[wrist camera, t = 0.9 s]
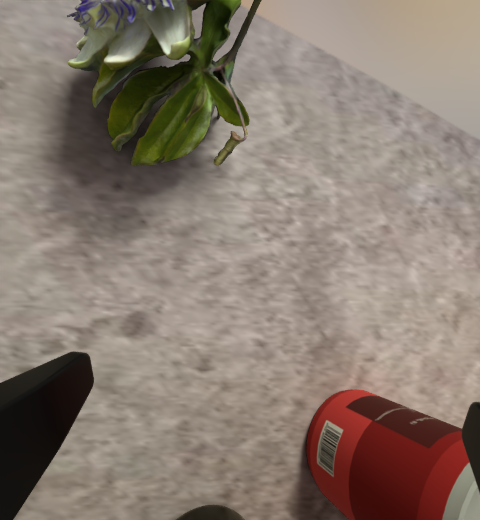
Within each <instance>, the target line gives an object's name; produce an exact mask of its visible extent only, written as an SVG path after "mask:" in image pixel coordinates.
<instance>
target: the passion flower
mask: <svg viewBox="0 0 480 520" xmlns="http://www.w3.org/2000/svg"><path fill="white" fill-rule="evenodd" d="M81 1H82V3H81V4H80V5H79V6H77V7H76V8H75V9H76V10H77V12H75V13H72V14H70V15H67V17H70V16H72V17H74V16H76V17H75V18H74V20H75V21H78V22H80V24H79V25H80V27H82V28H83V29H84V30H85V33H84V35H85V36H84V37H83V38H81V40H80V41H79V42H77V44H76V47H77V48H78V49H79V50H80V53H79V54H78V56H77V57H76V58H74V59H72V60H69V62H68V65H69V66H71V67H73V68H75V69H81V70H85V71H92V70H96V71H98V72H99V76H98V79H97V83H96V84H95V86H94V88H93V90H92V93H93V95H92V102H93V106H94V107H95V108H96V107H97V106H98V104H99V103H100V101H101V100H102V99H103V97H104V96H105V95H106V94H107V93H108V92H109V91H111V90H113V89H114V88H115V87H116V85H117V84H118V83H119V82H120V81H121V80H122V79H124V78H126V77H128V75H129V74H130V73H131V72H132V70H134V69H136V68H137V67H139V66H141V65H142V64H144V63H146V62H147V61H149V60H151V59H153V58H155V57H158V56H162V55H167V57H168V58H169V59H173V60H179V59H181V58H182V57H183V56H184V55H186V54H188V55H190V56H191V58H190V60H189V61H187V62H180V63H178V64H177V65H175V66H173V67H169V68H167V67H166V66H164V67H162V66H160V67H155V68H150V69H145V70H140V71H138V72H137V73H136V74H134V75H132V76H130V77H129V78H128V79H126V80H125V81H124V83H123V88H122V90H121V91H120V92H119V93H118V94H117V96H116V98H115V99H114V101H113V102H112V105H111V109H110V112H109V115H110V116H109V118H108V119H107V125H108V133H109V135H110V136H111V137H112V139H113V141H112V142H111V143H112V146H113V148H114V149H115V150H117V151H120V150H121V149H122V144H124V143H126V142H127V141H129V140H130V139H131V138H132V137H133V136H134V135H135V134H136V133H137V131H138V129H139V126H140V124H141V123H142V122H143V121H144V119H145V118H146V116H147V115H148V114H149V112H150V110H151V108H152V106H153V104H154V103H155V102H157V101H158V100H159V99H161V98H162V97H164V96H166V95H168V94H169V96H168V97H167V98H166V100H165V102H164V103H163V104H162V105H161V106H160V109H159V110H158V111H157V112H156V113H155V115H154V118H153V119H152V121H151V123H150V125H149V126H148V128H147V131H146V134H145V135H144V136H143V137H141V138H139V140H138V142H137V144H136V148H135V151H134V152H133V157H132V160H131V165H133V166H135V165H154V164H160V163H163V162H167V161H170V160H174V159H177V158H180V157H183V156H185V155H188V154H189V153H190V152H191V151H192V150H194V149H195V148H196V147H197V146H198V145H199V144H200V142H201V141H202V140H203V139H204V138H205V136H206V133H207V130H208V128H209V125H210V120H211V117H212V114H213V111H214V107H215V106H216V107H217V111H218V115H217V118H218V119H219V118H220V116H221V117H223V118H224V120H225V121H226V122H228V123H231V124H233V125H235V126H243V129H244V138H241V137H240V136H238V135H237V134H236V133H235V132H234V131H231V137H230V139H229V140H228V141H227V143H226V144H225V147H224V148H223V149H222V150H221V151H220V152H219V153H218V156H217V157H215V159H214V164H215V165H221V164H222V163H223V161H224V160H225V159H226V158H227V156H228V155H230V154H231V153H232V151H233V149H234V148H235V147H236V145H238V144H239V143H241V142H243V141H244V140H245V139H246V137H247V130H246V127H245V126H247V125H249V116H248V114H247V112H246V109H245V107H244V106H243V104H242V102H241V101H240V100H239V99H238V98H237V96H236V94H235V92H234V90H233V88H232V87H231V84H230V81H231V77H232V73H233V68H234V64H235V58H236V54H237V52H238V49H239V47H240V46H241V43H242V41H243V39H244V37H245V35H246V33H247V31H248V28H249V26H250V23H251V21H252V19H253V17H254V15H255V12H256V10H257V8H258V6H259V4H260V2H261V0H254V2H253V4H252V6H251V8H250V11H249V12H248V15H247V17H246V19H245V21H244V23H243V25H242V27H241V30H240V32H239V34H238V36H237V38H236V40H235V43H234V45H233V47H232V48H231V50H230V51H229V52H228V53H227V54H225V55H224V56H223V57H222V58H220V59H219V60H218V61H217V62H215V61H213V60H212V59H213V57H214V55H215V53H216V52H217V50H218V49H220V48H221V47H222V45H223V44H224V43H225V42H226V41H227V39H228V37H229V35H230V31H229V29H228V26H229V22H230V20H231V18H232V16H233V15H234V13H235V12H236V11H237V9H238V8H239V7H240V5H241V0H81ZM205 3H206V7H205V9H204V12H203V22H202V31H201V36H200V38H198V39H194V35H195V29H194V26H193V22H192V10H195V9H197V8H198V7H200V6H202V5H203V4H205ZM215 77H217V78H218V79H216V78H215Z"/></svg>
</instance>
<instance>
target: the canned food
mask: <svg viewBox="0 0 480 520" xmlns="http://www.w3.org/2000/svg"><path fill="white" fill-rule="evenodd" d="M307 459H308V464H309V468H310V471H311V473H312V476H313V478H314V480H315V482H316V484H317V486H318V487H319V489H320V490H321V492H322V493H323V494H324V495H325V496H326V497H327V498H328V499H329V500H330V501H331V502H332V503H333V504H334V505H335V506H336V507H337V508H338V509H339V510H340V511H341V512H342V513H343V514H344V515H345V516H346V517H347V518H348V519H349V520H480V493H479V490H478V487H477V484H476V481H475V478H474V474H473V471H472V468H471V465H470V462H469V459H468V456H467V453H466V450H465V447H464V444H463V441H462V429H461V428H458V427H456V426H453V425H451V424H448V423H446V422H443V421H441V420H438V419H435V418H433V417H430V416H428V415H425V414H423V413H420V412H418V411H415V410H413V409H410V408H407V407H405V406H402V405H400V404H397V403H395V402H392V401H390V400H387V399H385V398H382V397H379V396H377V395H374V394H372V393H369V392H367V391H364V390H345V391H340V392H338V393H336V394H334V395H332V396H331V397H329V398H328V399H327V400H326V401H325V402H324V403H323V404H322V405H321V406H320V408H319V409H318V411H317V412H316V414H315V416H314V418H313V420H312V422H311V425H310V429H309V432H308V437H307Z"/></svg>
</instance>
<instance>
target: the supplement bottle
mask: <svg viewBox="0 0 480 520" xmlns="http://www.w3.org/2000/svg"><path fill="white" fill-rule="evenodd" d="M176 520H244V519H243V517H242V516H241V515H239V514H238V513H237V512H235V511H234V510H232V509H230V508H228V507H225V506H220V505H206V506H201V507H198V508H195V509H193V510H190V511H188V512H187V513H185V514H183V515H182V516H180V517H179V518H178V519H176Z"/></svg>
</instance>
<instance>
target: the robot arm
mask: <svg viewBox="0 0 480 520" xmlns="http://www.w3.org/2000/svg"><path fill="white" fill-rule="evenodd" d="M93 383H94V377H93V371H92V365H91V360H90V356H89V355H88V354H87V353H82V352H70V353H67V354H65V355H63V356H61V357H58V358H56V359H54V360H51V361H49V362H47V363H45V364H42V365H40V366H38V367H36V368H33V369H31V370H29V371H27V372H24V373H22V374H20V375H17V376H15V377H13V378H11V379H8V380H6V381H4V382H2V383H0V520H13V519H14V518H15V516H16V515H17V513H18V511H19V510H20V508H21V507H22V505H23V504H24V502H25V501H26V499H27V498H28V496H29V495H30V493H31V492H32V490H33V489H34V487H35V485H36V484H37V482H38V481H39V479H40V478H41V476H42V475H43V473H44V472H45V470H46V469H47V467H48V466H49V464H50V463H51V461H52V459H53V458H54V456H55V455H56V453H57V452H58V450H59V448H60V447H61V445H62V443H63V442H64V440H65V438H66V436H67V434H68V433H69V431H70V429H71V427H72V425H73V423H74V421H75V419H76V418H77V416H78V414H79V412H80V410H81V408H82V406H83V404H84V403H85V401H86V399H87V397H88V395H89V393H90V391H91V389H92V387H93ZM462 441H463V444H464V447H465V450H466V453H467V456H468V459H469V462H470V465H471V468H472V471H473V474H474V478H475V481H476V484H477V487H478V490H479V493H480V402H473V403H472V404H471V405H470V407H469V410H468V413H467V416H466V419H465V422H464V425H463V428H462Z"/></svg>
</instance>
